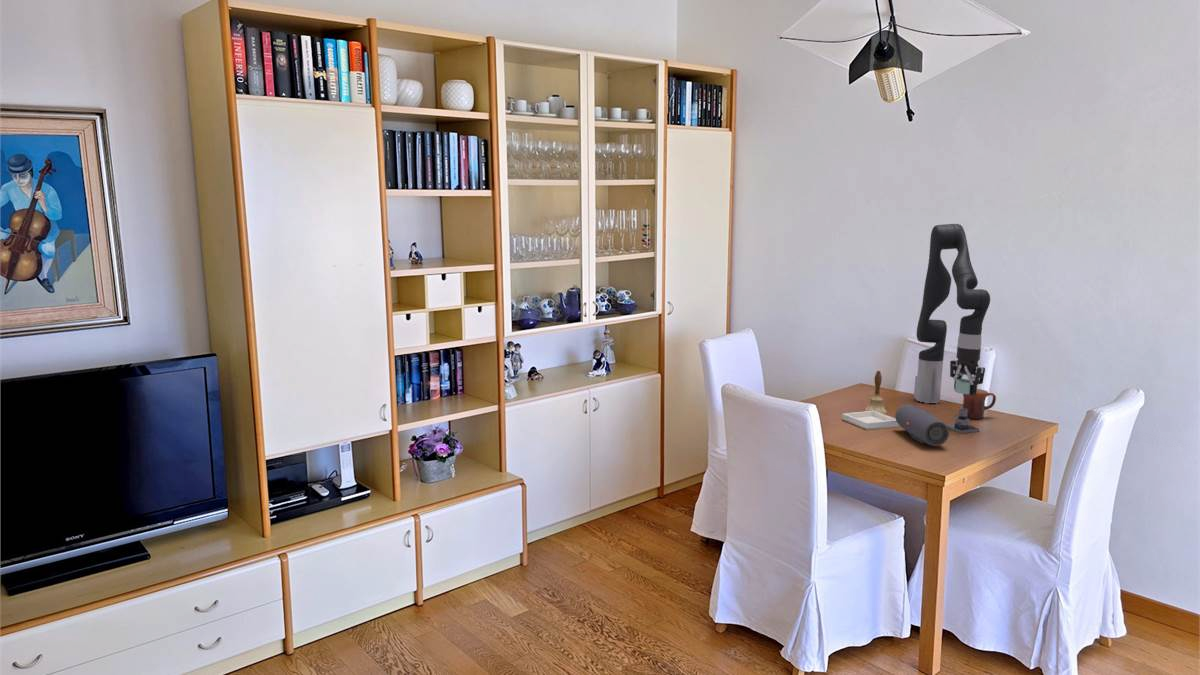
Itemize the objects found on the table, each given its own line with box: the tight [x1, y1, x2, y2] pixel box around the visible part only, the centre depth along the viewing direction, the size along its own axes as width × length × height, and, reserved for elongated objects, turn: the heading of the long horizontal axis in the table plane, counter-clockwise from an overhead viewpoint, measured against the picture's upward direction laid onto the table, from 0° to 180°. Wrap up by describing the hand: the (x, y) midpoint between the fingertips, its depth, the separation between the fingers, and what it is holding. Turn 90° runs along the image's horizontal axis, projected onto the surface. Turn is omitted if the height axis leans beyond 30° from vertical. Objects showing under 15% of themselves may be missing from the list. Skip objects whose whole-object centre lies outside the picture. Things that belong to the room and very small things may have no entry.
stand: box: [945, 407, 980, 434], centre depth 294 cm, size 8×8×8 cm
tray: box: [841, 410, 900, 431], centre depth 301 cm, size 14×14×2 cm
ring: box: [954, 378, 971, 395], centre depth 292 cm, size 6×7×4 cm
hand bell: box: [864, 370, 888, 415], centre depth 316 cm, size 8×8×16 cm
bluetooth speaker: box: [894, 403, 950, 447], centre depth 281 cm, size 23×9×10 cm, turn 4°
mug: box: [962, 388, 997, 420], centre depth 310 cm, size 12×9×10 cm
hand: (964, 392), depth 292 cm, fingers closed on ring, 6 cm apart
